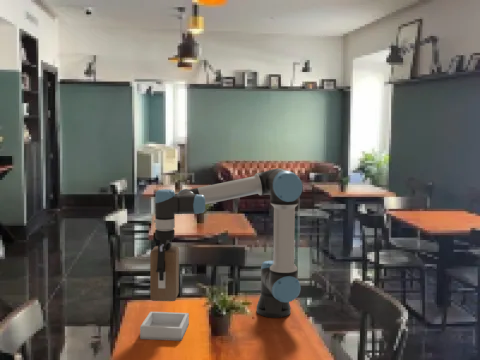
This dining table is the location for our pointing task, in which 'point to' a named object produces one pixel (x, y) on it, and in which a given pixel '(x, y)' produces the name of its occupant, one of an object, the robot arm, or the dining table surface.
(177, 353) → the dining table surface
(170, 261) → the block
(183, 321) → the tray
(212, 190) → the robot arm
